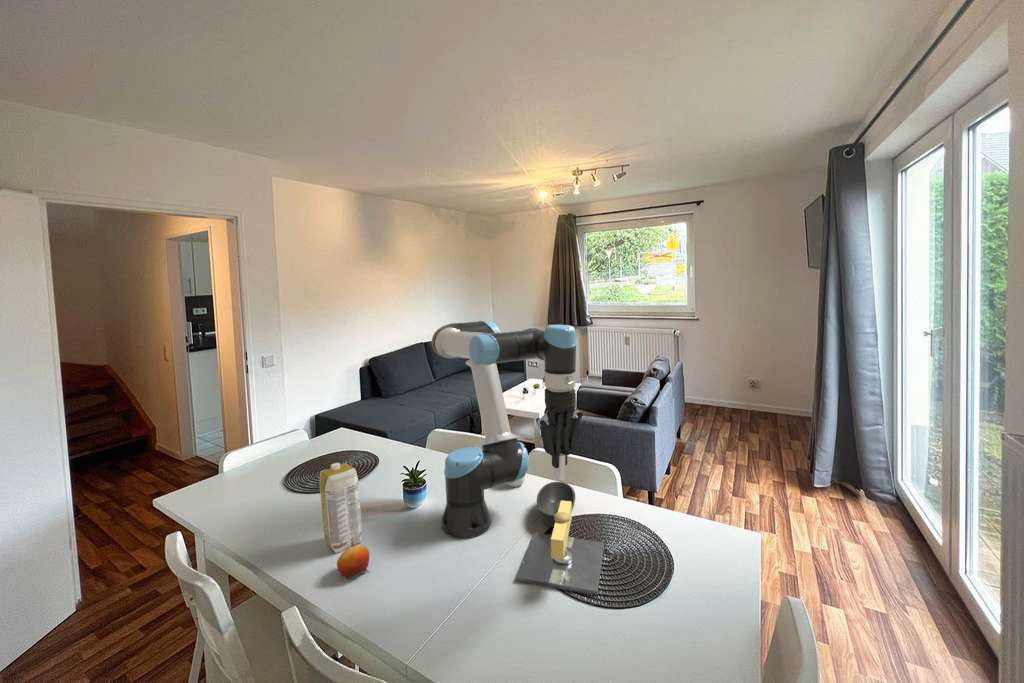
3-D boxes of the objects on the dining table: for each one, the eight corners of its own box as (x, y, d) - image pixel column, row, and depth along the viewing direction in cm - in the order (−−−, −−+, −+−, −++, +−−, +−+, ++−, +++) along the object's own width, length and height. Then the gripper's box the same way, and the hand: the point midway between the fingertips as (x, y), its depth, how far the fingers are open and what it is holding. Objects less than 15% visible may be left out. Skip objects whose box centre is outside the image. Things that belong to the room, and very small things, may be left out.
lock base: (515, 581, 108) (515, 554, 107) (534, 536, 127) (534, 513, 126) (597, 595, 102) (597, 567, 101) (604, 546, 121) (604, 522, 120)
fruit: (356, 583, 106) (343, 553, 108) (340, 589, 110) (327, 559, 112) (381, 565, 113) (369, 536, 114) (365, 571, 117) (353, 543, 119)
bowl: (576, 499, 148) (576, 482, 147) (573, 537, 126) (573, 517, 125) (541, 497, 150) (541, 480, 149) (532, 533, 128) (532, 514, 128)
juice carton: (353, 531, 132) (347, 456, 129) (365, 542, 126) (359, 464, 123) (322, 545, 125) (315, 466, 122) (333, 557, 120) (326, 474, 116)
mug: (527, 479, 164) (526, 459, 163) (524, 489, 156) (523, 469, 155) (496, 477, 166) (495, 458, 165) (491, 487, 158) (490, 467, 157)
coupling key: (559, 516, 123) (559, 497, 122) (573, 518, 122) (573, 498, 121) (549, 557, 105) (548, 535, 104) (565, 560, 104) (565, 537, 103)
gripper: (546, 395, 99) (546, 491, 103) (590, 387, 106) (589, 477, 110) (529, 388, 106) (530, 478, 110) (571, 381, 112) (570, 466, 116)
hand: (559, 478), depth 110 cm, fingers closed
